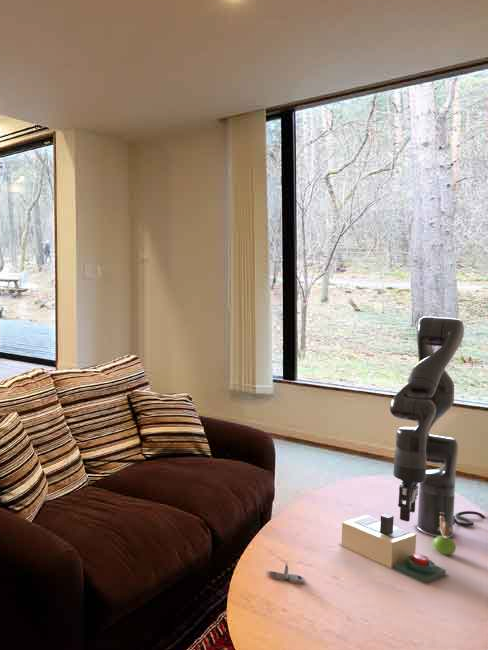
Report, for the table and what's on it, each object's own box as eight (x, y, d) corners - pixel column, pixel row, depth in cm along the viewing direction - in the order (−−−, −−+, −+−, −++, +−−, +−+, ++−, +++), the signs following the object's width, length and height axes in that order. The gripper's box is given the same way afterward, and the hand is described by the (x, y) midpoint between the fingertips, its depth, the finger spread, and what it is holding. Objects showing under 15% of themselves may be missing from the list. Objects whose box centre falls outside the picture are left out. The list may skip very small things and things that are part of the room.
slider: (386, 530, 168) (386, 513, 167) (392, 533, 166) (393, 516, 166) (379, 532, 167) (380, 515, 166) (386, 535, 165) (387, 518, 164)
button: (417, 558, 161) (417, 552, 161) (431, 564, 158) (431, 558, 158) (409, 560, 160) (410, 555, 160) (423, 566, 157) (424, 561, 157)
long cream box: (364, 537, 180) (365, 514, 180) (415, 559, 167) (416, 534, 166) (341, 545, 176) (342, 521, 175) (391, 568, 162) (392, 542, 161)
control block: (414, 562, 165) (415, 551, 165) (445, 575, 158) (446, 563, 157) (394, 569, 161) (395, 558, 161) (425, 583, 154) (425, 571, 153)
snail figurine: (450, 549, 172) (452, 513, 171) (457, 559, 166) (460, 521, 165) (429, 546, 174) (431, 510, 173) (435, 555, 168) (437, 518, 167)
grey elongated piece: (302, 579, 157) (303, 565, 157) (303, 584, 154) (304, 570, 154) (269, 572, 161) (270, 559, 160) (270, 577, 158) (270, 564, 158)
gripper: (421, 472, 152) (419, 528, 154) (430, 460, 162) (427, 512, 163) (389, 466, 158) (386, 519, 159) (399, 454, 167) (396, 504, 169)
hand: (407, 515), depth 161 cm, fingers open, 8 cm apart
